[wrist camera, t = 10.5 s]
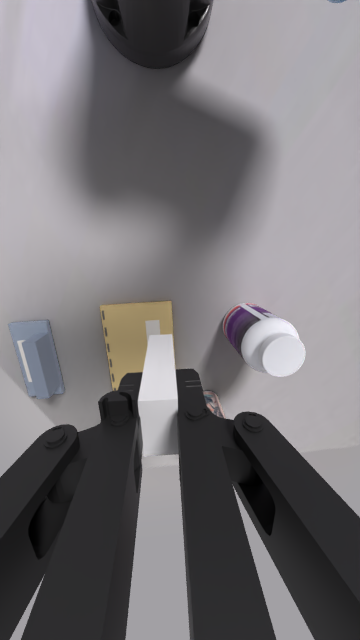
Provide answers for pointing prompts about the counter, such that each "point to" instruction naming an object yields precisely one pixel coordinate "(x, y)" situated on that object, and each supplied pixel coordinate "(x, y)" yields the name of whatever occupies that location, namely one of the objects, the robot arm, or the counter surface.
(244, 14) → the counter surface
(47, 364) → the stub
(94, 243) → the counter surface
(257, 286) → the counter surface
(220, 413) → the beer can
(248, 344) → the pill bottle
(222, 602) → the robot arm
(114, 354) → the tan notebook
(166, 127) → the counter surface
